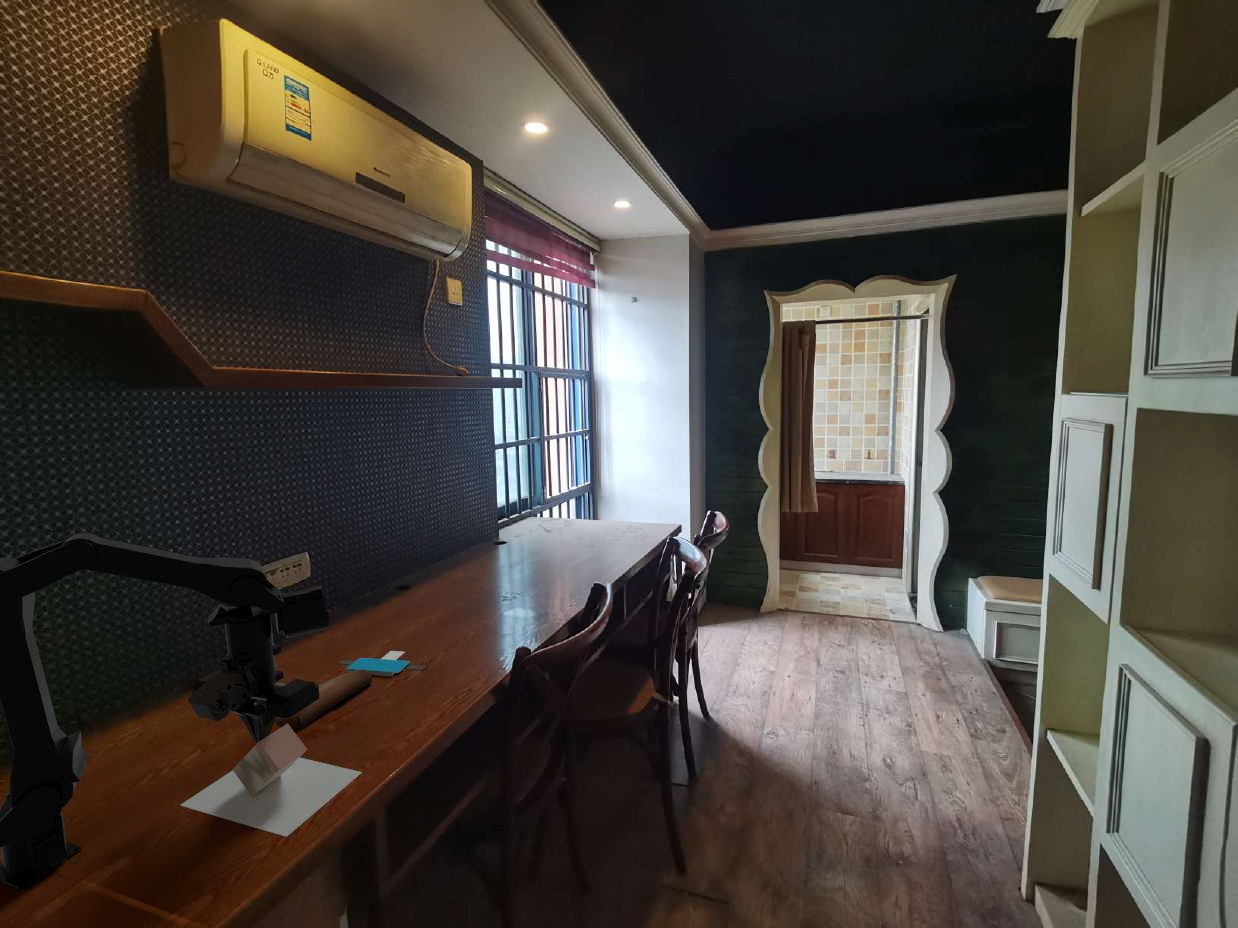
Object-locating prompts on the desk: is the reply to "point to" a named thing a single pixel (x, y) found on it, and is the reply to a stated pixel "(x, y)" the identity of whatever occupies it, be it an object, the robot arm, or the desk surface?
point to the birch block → (269, 759)
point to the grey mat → (275, 796)
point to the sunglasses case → (329, 697)
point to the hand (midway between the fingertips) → (261, 743)
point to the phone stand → (381, 664)
